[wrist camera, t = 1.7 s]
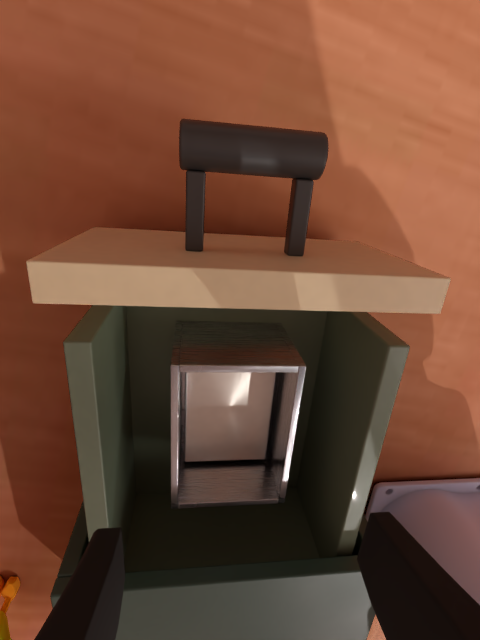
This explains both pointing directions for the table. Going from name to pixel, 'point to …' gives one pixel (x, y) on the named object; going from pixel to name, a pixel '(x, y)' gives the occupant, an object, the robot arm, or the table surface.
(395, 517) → the robot arm
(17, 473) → the table surface
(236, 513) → the drawer
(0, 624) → the toy figure
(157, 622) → the cabinet
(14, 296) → the table surface
